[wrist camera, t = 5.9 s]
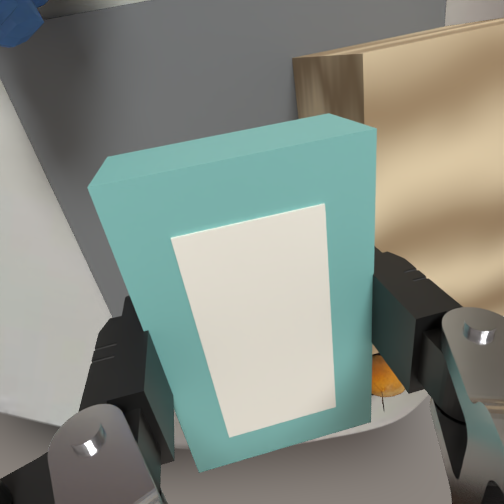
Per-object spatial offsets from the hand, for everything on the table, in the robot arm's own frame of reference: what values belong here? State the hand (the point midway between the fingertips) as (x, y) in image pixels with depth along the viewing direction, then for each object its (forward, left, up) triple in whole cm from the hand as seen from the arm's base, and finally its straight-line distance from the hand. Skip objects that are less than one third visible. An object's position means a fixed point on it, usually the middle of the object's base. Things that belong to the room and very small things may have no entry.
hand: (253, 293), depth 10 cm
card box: (0, 0, 0) cm, 0 cm away
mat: (+2, +3, -15) cm, 16 cm away
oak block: (+3, +11, -15) cm, 19 cm away
